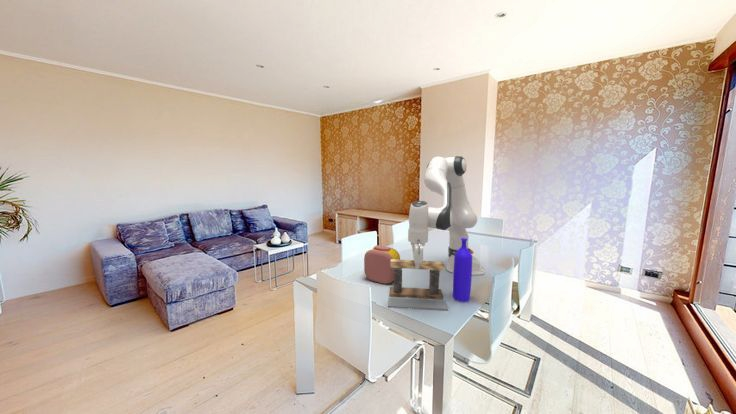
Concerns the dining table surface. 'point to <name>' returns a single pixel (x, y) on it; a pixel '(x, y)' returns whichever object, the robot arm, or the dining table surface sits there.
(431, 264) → the rail
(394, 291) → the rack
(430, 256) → the dining table surface
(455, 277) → the bottle
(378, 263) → the alarm clock
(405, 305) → the mat
